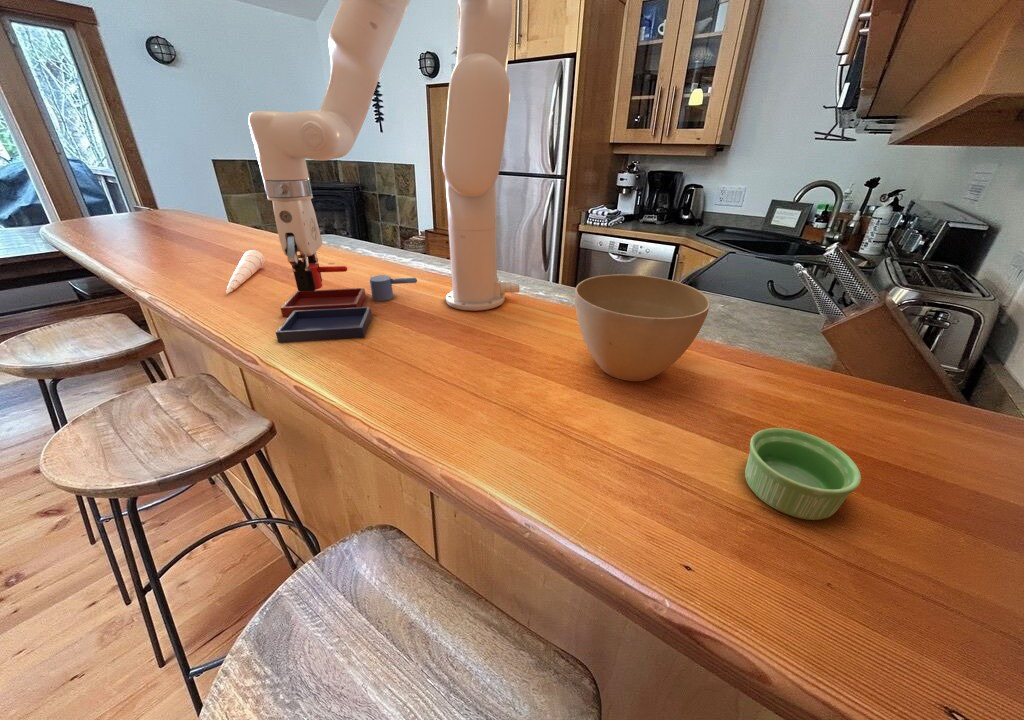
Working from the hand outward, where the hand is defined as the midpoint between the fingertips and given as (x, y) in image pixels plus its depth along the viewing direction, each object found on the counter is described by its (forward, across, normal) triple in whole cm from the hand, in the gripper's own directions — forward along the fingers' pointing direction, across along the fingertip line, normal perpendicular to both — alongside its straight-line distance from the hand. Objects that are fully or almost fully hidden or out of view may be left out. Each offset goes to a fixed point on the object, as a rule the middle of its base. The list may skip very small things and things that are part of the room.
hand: (310, 285), depth 84 cm
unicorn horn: (+5, +22, +22) cm, 32 cm away
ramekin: (+4, -60, -60) cm, 86 cm away
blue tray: (+4, -12, -5) cm, 14 cm away
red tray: (+4, 0, -2) cm, 5 cm away
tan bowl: (+4, -34, -54) cm, 64 cm away
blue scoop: (+4, +3, -16) cm, 17 cm away
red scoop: (0, 0, -3) cm, 3 cm away
